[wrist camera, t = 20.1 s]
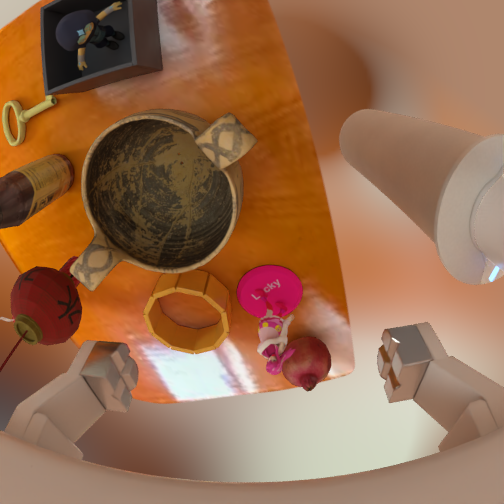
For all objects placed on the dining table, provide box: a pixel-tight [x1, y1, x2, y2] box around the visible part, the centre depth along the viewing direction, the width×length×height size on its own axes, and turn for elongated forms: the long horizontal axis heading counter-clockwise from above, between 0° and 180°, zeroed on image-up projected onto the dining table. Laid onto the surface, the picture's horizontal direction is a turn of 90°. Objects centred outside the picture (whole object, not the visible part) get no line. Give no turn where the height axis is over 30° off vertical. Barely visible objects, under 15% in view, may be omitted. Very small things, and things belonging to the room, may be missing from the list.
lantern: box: [0, 256, 82, 372], centre depth 30 cm, size 10×10×30 cm
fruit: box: [282, 336, 331, 391], centre depth 46 cm, size 8×8×10 cm
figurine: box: [237, 265, 303, 375], centre depth 39 cm, size 10×10×15 cm
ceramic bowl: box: [70, 109, 257, 291], centre depth 31 cm, size 22×17×15 cm
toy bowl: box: [143, 269, 232, 354], centre depth 45 cm, size 12×13×5 cm
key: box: [2, 95, 57, 146], centre depth 32 cm, size 7×12×2 cm, turn 117°
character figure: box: [56, 1, 125, 71], centre depth 23 cm, size 9×4×12 cm, turn 146°
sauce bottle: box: [0, 154, 74, 229], centre depth 29 cm, size 7×6×20 cm
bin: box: [41, 0, 163, 96], centre depth 25 cm, size 12×12×8 cm
